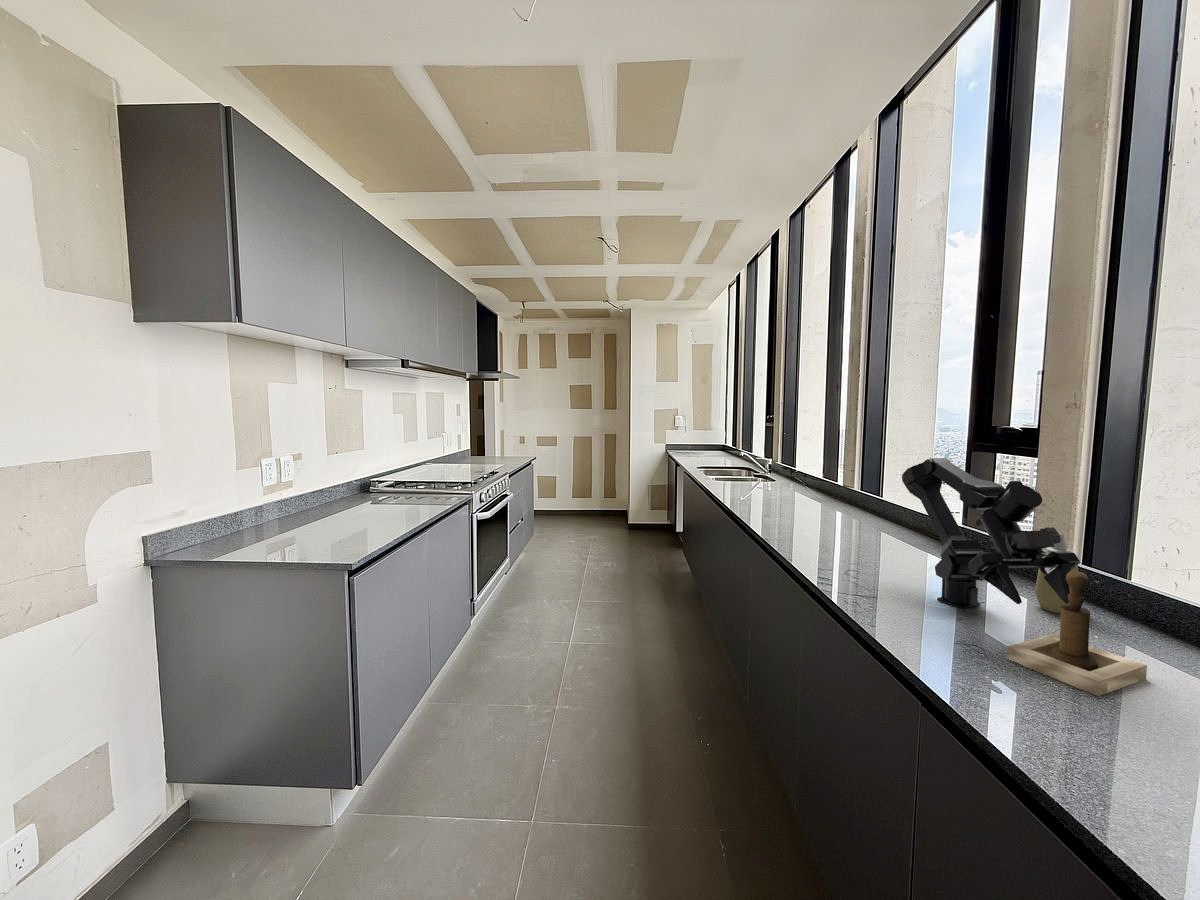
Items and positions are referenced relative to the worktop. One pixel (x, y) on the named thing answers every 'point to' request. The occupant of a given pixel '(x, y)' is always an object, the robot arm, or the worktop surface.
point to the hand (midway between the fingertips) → (1044, 603)
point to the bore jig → (1098, 682)
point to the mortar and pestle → (1075, 627)
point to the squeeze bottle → (1044, 590)
